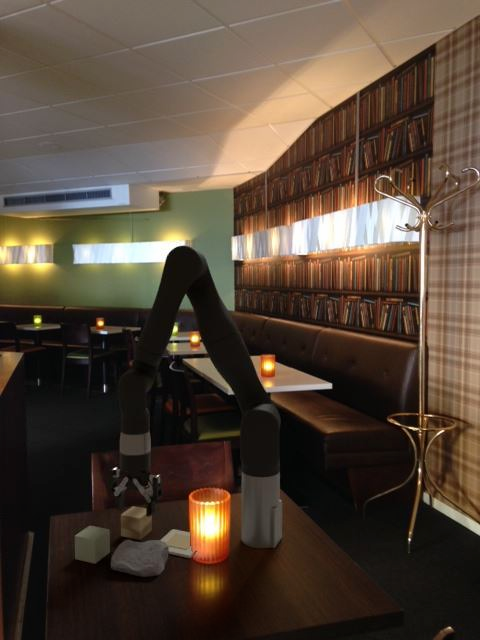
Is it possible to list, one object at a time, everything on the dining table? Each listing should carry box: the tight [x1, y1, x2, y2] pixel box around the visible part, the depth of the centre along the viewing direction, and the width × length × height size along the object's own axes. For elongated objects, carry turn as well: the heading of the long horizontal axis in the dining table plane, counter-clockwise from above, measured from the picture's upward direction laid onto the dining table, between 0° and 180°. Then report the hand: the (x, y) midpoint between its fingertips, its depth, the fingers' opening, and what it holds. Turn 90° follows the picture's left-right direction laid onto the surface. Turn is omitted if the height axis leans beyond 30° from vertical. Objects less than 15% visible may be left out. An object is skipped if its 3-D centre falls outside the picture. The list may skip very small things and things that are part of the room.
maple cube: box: [120, 505, 153, 541], centre depth 132 cm, size 6×6×6 cm
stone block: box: [110, 539, 169, 578], centre depth 117 cm, size 12×5×10 cm
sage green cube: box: [74, 525, 111, 564], centre depth 121 cm, size 6×6×6 cm
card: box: [159, 528, 195, 559], centre depth 126 cm, size 10×10×1 cm
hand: (134, 512), depth 131 cm, fingers open, 8 cm apart
